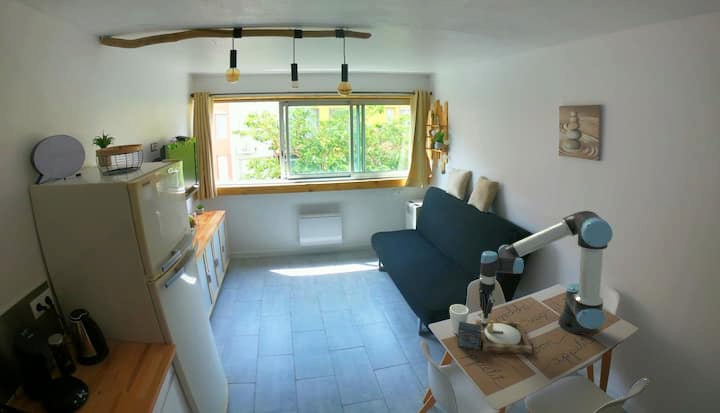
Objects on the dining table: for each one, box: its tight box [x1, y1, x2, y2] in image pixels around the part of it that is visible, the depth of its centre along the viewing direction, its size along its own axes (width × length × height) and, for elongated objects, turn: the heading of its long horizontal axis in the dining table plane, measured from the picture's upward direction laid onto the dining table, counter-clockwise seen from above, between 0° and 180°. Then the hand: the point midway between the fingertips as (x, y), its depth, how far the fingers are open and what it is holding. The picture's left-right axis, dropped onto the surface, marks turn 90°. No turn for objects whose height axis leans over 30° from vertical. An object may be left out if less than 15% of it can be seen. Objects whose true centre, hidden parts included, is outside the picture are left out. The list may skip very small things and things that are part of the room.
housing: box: [475, 319, 533, 356], centre depth 187 cm, size 22×22×4 cm
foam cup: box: [449, 303, 470, 335], centre depth 193 cm, size 10×9×13 cm
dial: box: [484, 323, 521, 345], centre depth 186 cm, size 17×17×6 cm
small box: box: [457, 322, 481, 351], centre depth 182 cm, size 11×6×10 cm, turn 71°
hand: (484, 322), depth 193 cm, fingers closed
